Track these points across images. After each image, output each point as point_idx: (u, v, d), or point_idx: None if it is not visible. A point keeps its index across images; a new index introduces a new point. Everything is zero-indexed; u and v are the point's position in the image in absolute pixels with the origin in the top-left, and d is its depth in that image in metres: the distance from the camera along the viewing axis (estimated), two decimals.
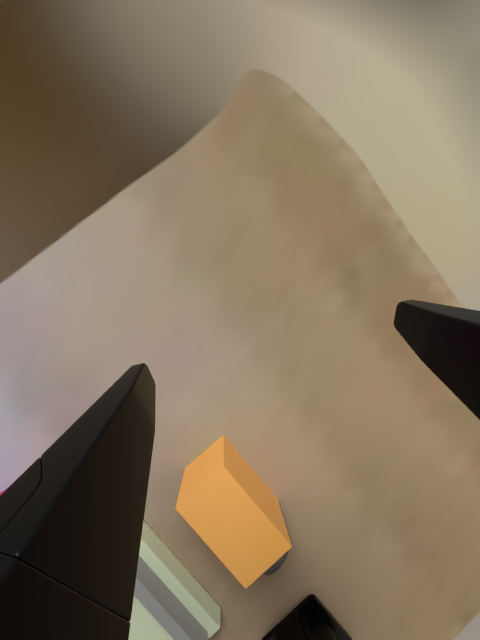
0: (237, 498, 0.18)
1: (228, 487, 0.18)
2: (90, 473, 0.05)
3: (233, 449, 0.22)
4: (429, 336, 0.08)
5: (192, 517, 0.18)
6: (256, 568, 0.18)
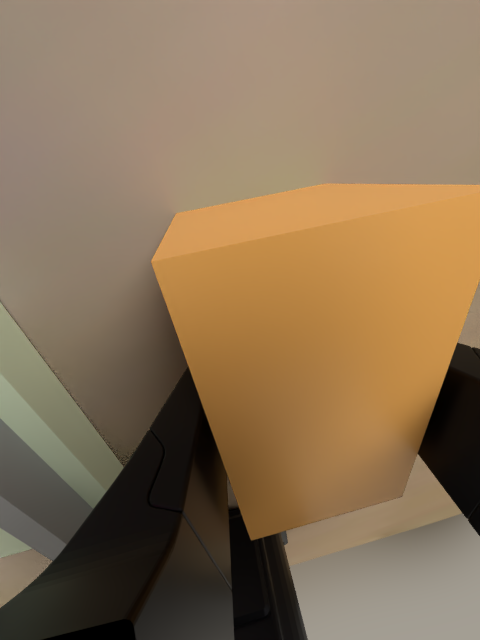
0: (417, 352, 0.04)
1: (430, 299, 0.04)
2: (202, 444, 0.05)
3: None
4: None
5: (217, 345, 0.03)
6: (303, 516, 0.07)
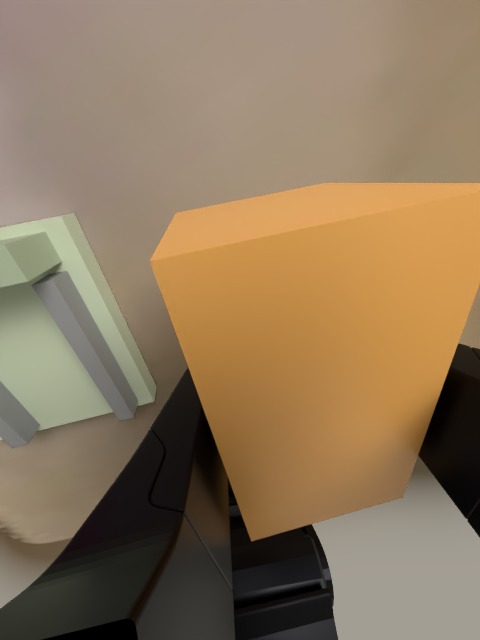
0: (418, 352, 0.04)
1: (432, 299, 0.04)
2: (203, 443, 0.05)
3: None
4: None
5: (217, 345, 0.03)
6: (304, 516, 0.07)
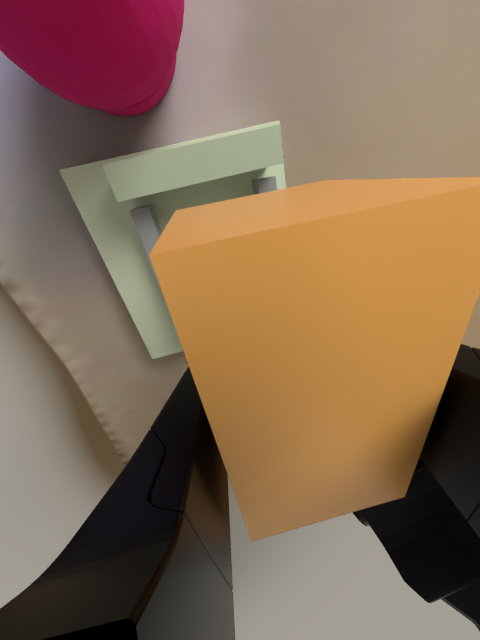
0: (421, 349, 0.04)
1: (436, 294, 0.04)
2: (203, 443, 0.05)
3: None
4: None
5: (217, 342, 0.03)
6: (305, 516, 0.06)
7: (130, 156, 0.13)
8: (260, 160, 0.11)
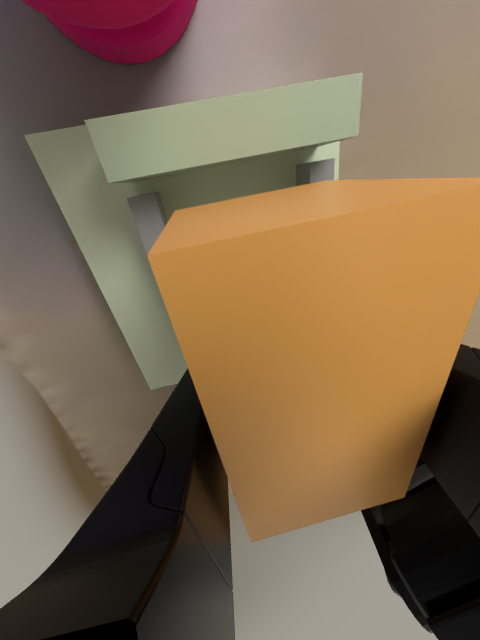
0: (420, 350, 0.04)
1: (435, 296, 0.04)
2: (203, 443, 0.05)
3: None
4: None
5: (216, 343, 0.03)
6: (304, 517, 0.06)
7: None
8: (327, 129, 0.08)
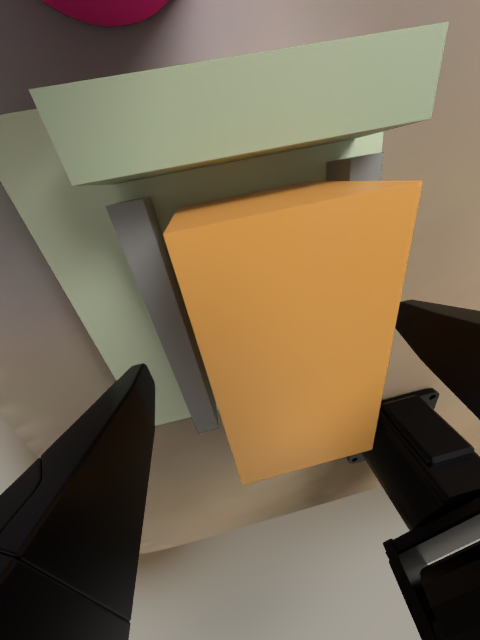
0: (368, 312, 0.05)
1: (373, 267, 0.05)
2: (90, 473, 0.05)
3: None
4: (429, 336, 0.08)
5: (210, 301, 0.05)
6: (287, 463, 0.08)
7: None
8: (388, 108, 0.05)
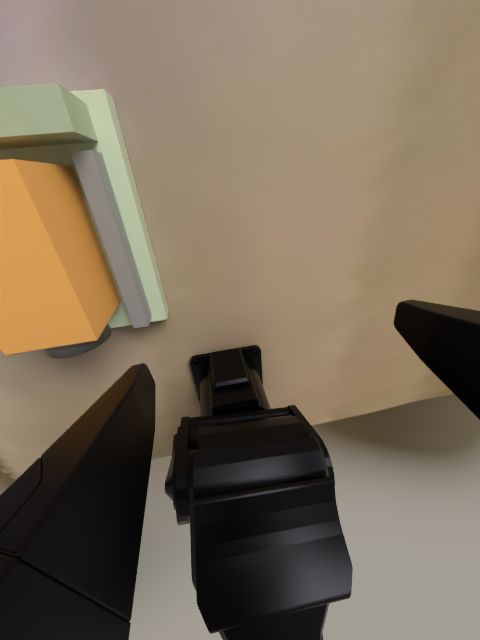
0: (26, 231, 0.10)
1: (12, 204, 0.09)
2: (90, 473, 0.05)
3: (78, 196, 0.13)
4: (429, 336, 0.08)
5: None
6: (30, 340, 0.12)
7: None
8: (43, 123, 0.10)
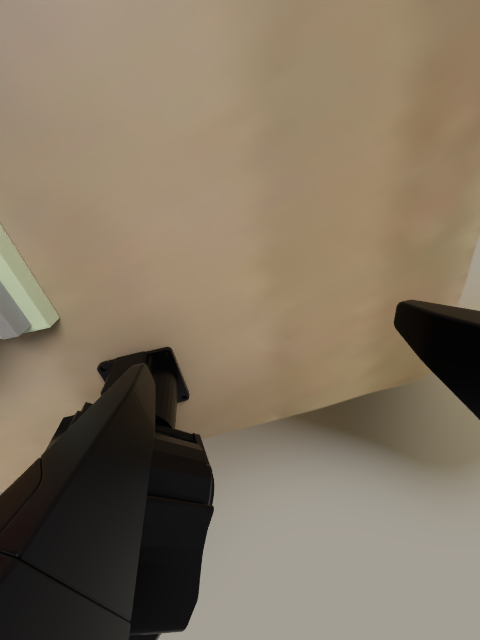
0: None
1: None
2: (90, 473, 0.05)
3: None
4: (429, 336, 0.08)
5: None
6: None
7: None
8: None
